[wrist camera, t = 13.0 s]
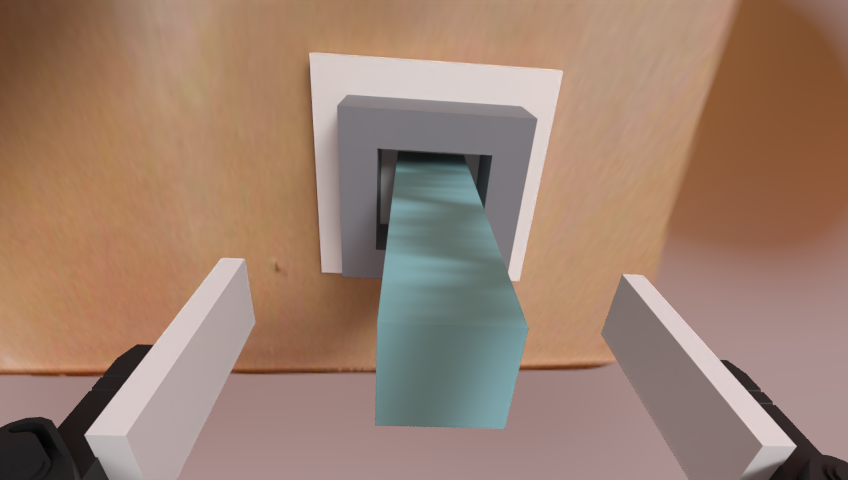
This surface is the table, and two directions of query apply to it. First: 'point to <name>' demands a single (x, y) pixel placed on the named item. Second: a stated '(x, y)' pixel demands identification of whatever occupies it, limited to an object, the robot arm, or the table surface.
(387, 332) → the peg
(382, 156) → the socket block
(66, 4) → the table surface
